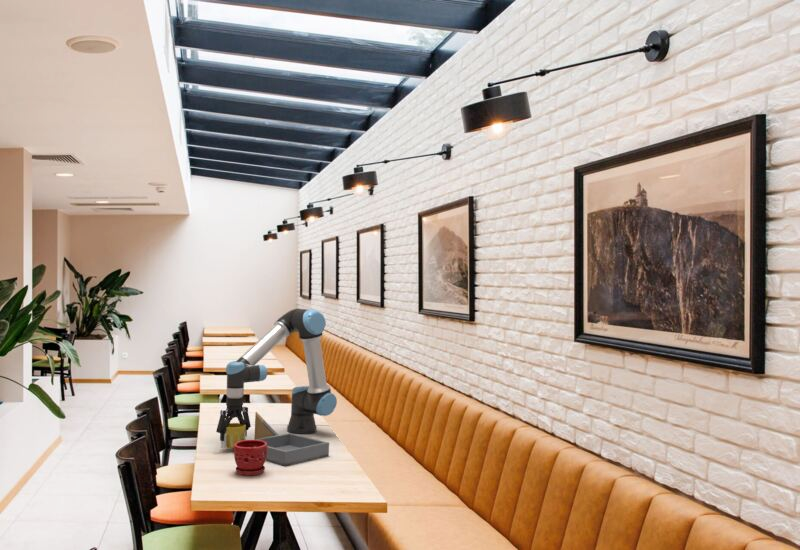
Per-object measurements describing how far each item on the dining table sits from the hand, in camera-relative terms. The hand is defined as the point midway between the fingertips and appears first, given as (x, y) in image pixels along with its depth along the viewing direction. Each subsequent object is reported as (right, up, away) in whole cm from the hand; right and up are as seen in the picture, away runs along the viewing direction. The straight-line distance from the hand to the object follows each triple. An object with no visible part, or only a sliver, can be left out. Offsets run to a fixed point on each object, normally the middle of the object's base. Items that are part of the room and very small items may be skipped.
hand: (233, 446), depth 323 cm
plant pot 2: (+15, -2, -36) cm, 39 cm away
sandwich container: (+14, -3, +14) cm, 20 cm away
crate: (+25, -3, -5) cm, 26 cm away
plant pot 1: (0, -1, 0) cm, 1 cm away
